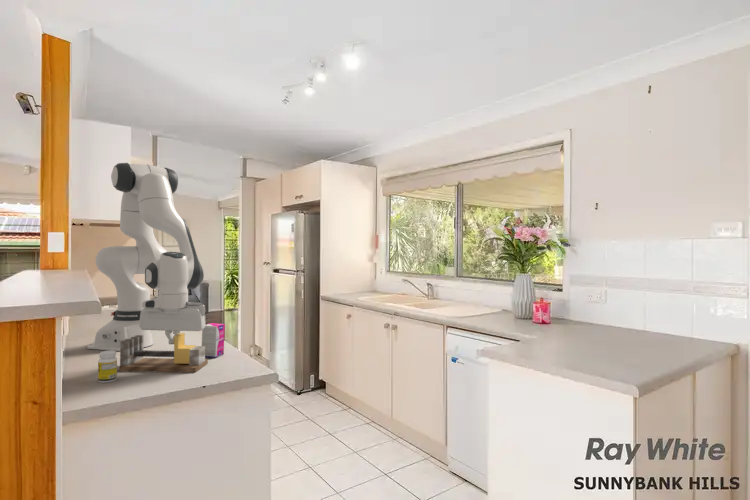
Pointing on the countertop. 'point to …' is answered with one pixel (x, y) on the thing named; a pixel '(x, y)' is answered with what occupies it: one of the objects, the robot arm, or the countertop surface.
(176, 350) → the yellow l-shaped block
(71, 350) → the countertop surface
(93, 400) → the countertop surface
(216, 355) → the supplement box
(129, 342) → the wooden board with slider
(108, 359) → the supplement bottle
